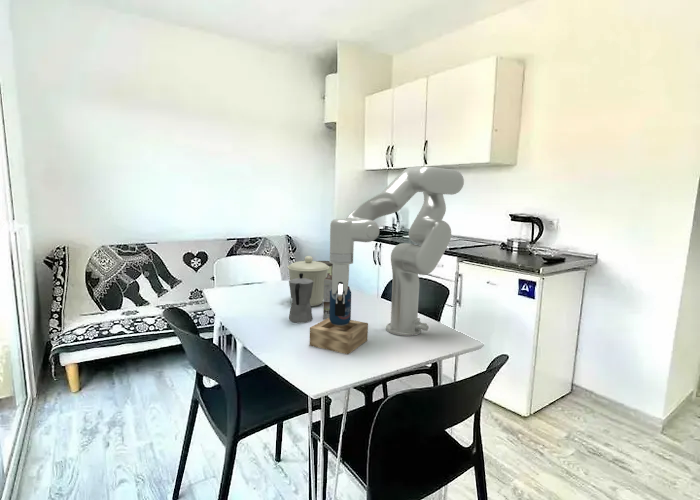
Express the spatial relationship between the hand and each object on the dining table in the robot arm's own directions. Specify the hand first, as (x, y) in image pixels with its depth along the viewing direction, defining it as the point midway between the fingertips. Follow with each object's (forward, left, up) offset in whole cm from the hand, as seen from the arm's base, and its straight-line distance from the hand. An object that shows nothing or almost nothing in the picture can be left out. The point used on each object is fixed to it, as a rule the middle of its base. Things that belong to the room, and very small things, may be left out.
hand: (340, 311), depth 135 cm
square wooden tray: (0, 0, -11) cm, 11 cm away
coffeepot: (+24, -13, -11) cm, 29 cm away
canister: (+34, -34, -11) cm, 49 cm away
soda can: (0, 0, -4) cm, 4 cm away
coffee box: (+15, -23, -11) cm, 29 cm away
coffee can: (+41, -58, -11) cm, 72 cm away
